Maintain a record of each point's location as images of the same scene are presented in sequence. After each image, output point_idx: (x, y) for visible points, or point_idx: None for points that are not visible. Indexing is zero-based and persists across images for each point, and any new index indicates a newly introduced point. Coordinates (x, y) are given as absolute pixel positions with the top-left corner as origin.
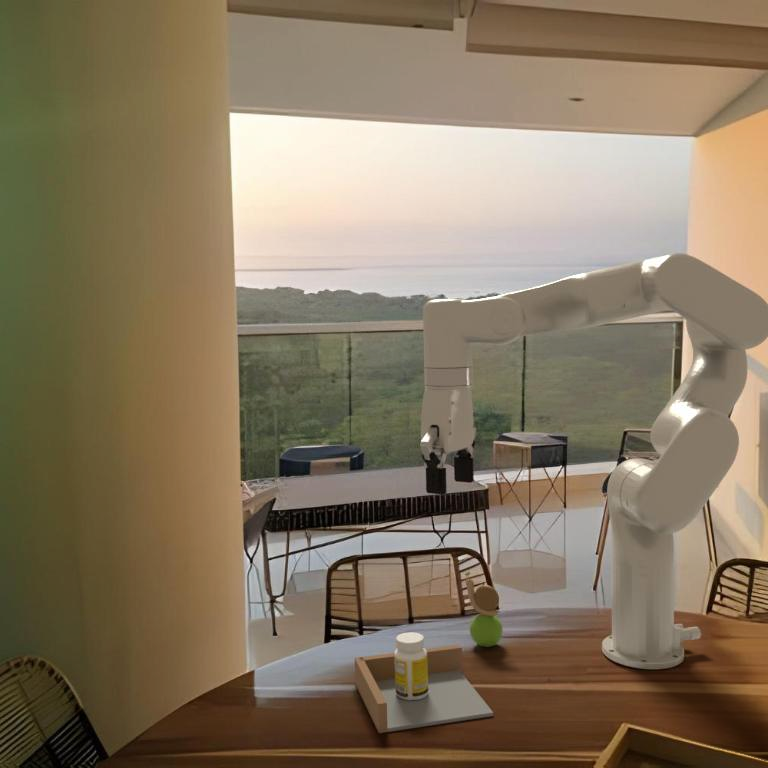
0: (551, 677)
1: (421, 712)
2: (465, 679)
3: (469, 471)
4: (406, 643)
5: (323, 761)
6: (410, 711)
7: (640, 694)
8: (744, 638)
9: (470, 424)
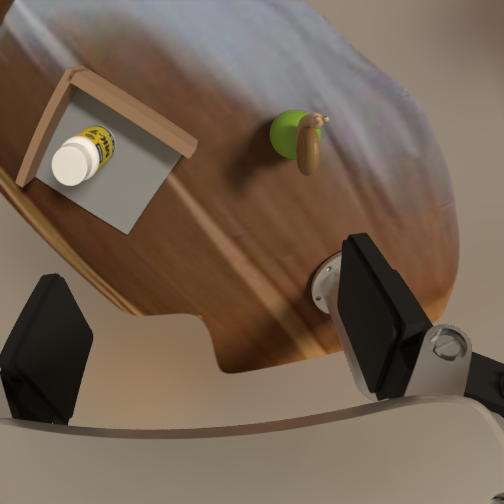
0: (246, 236)
1: None
2: (169, 169)
3: (352, 339)
4: (54, 175)
5: None
6: None
7: (259, 308)
8: None
9: None
